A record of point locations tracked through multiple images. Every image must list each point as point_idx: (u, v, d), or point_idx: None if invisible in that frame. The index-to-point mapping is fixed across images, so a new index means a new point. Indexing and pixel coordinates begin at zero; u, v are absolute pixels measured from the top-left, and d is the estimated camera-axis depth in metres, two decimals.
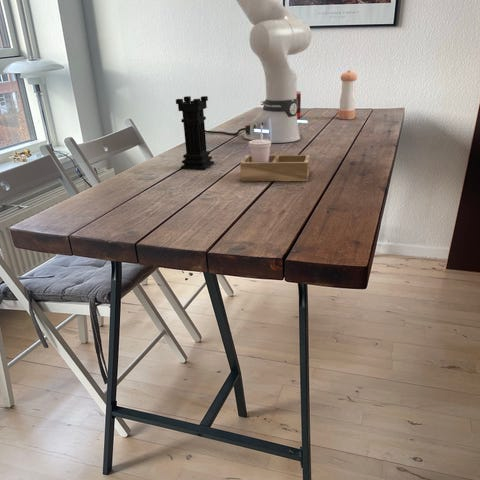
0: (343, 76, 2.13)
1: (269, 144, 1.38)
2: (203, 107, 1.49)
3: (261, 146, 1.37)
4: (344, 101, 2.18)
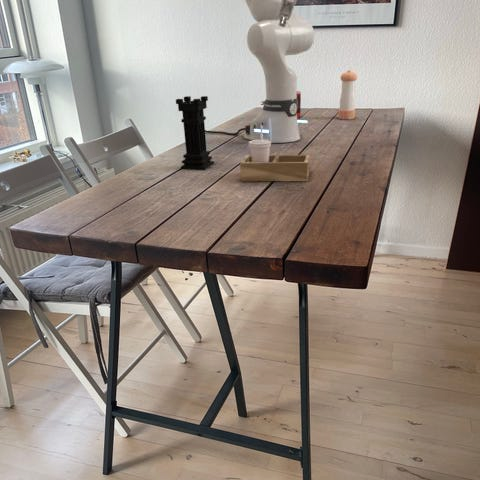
0: (343, 76, 2.13)
1: (269, 144, 1.38)
2: (203, 107, 1.49)
3: (261, 146, 1.37)
4: (344, 101, 2.18)
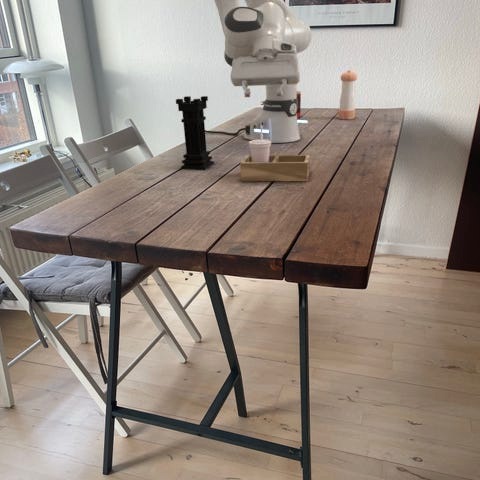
0: (343, 76, 2.13)
1: (269, 144, 1.38)
2: (203, 107, 1.49)
3: (261, 146, 1.37)
4: (344, 101, 2.18)
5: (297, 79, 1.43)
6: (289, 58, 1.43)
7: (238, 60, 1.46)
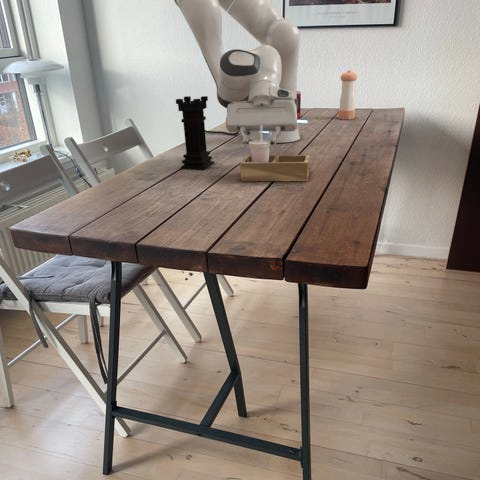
0: (343, 76, 2.13)
1: (269, 144, 1.38)
2: (203, 107, 1.49)
3: (261, 146, 1.37)
4: (344, 101, 2.18)
5: (295, 126, 1.38)
6: (286, 104, 1.38)
7: (233, 106, 1.41)
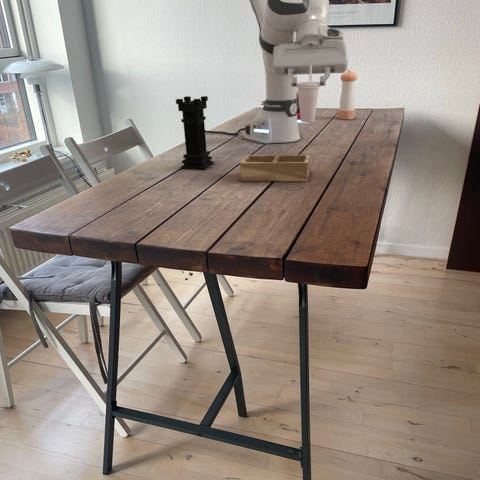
0: (343, 76, 2.13)
1: (318, 85, 1.33)
2: (203, 107, 1.49)
3: (310, 87, 1.32)
4: (344, 101, 2.18)
5: (345, 67, 1.33)
6: (336, 44, 1.33)
7: (280, 47, 1.36)
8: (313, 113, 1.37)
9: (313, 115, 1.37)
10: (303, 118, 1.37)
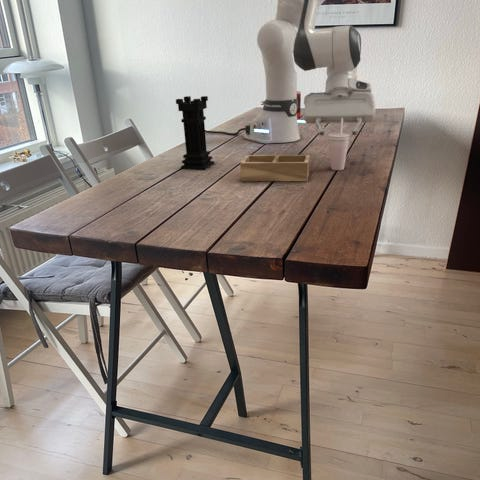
0: None
1: (349, 137, 1.42)
2: (203, 107, 1.49)
3: (342, 138, 1.41)
4: None
5: (373, 118, 1.41)
6: (364, 96, 1.42)
7: (311, 97, 1.45)
8: (343, 162, 1.45)
9: (343, 163, 1.46)
10: (333, 166, 1.46)
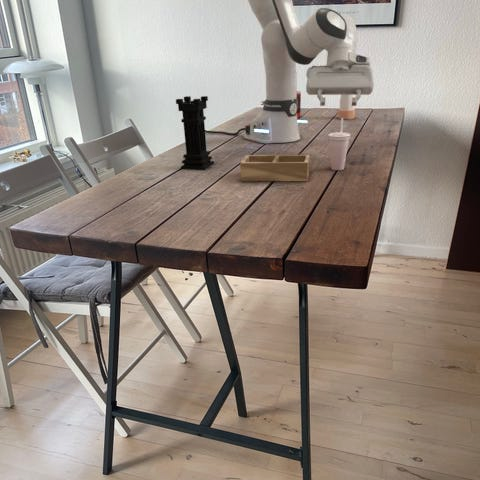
0: None
1: (349, 137, 1.42)
2: (203, 107, 1.49)
3: (342, 138, 1.41)
4: (344, 101, 2.18)
5: (371, 90, 1.50)
6: (363, 69, 1.50)
7: (313, 70, 1.53)
8: (343, 162, 1.45)
9: (343, 163, 1.46)
10: (333, 166, 1.46)
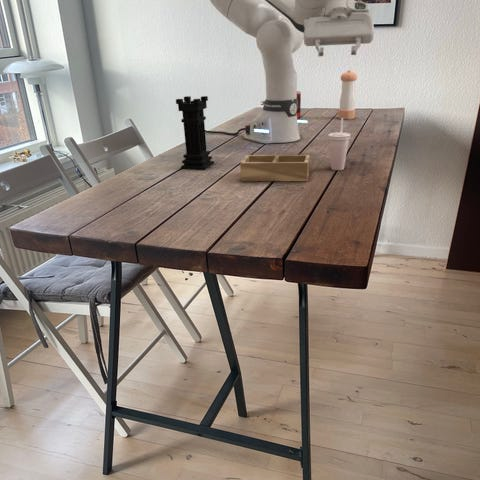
0: (343, 76, 2.13)
1: (349, 137, 1.42)
2: (203, 107, 1.49)
3: (342, 138, 1.41)
4: (344, 101, 2.18)
5: (371, 38, 1.44)
6: (363, 16, 1.44)
7: (311, 20, 1.47)
8: (343, 162, 1.45)
9: (343, 163, 1.46)
10: (333, 166, 1.46)
